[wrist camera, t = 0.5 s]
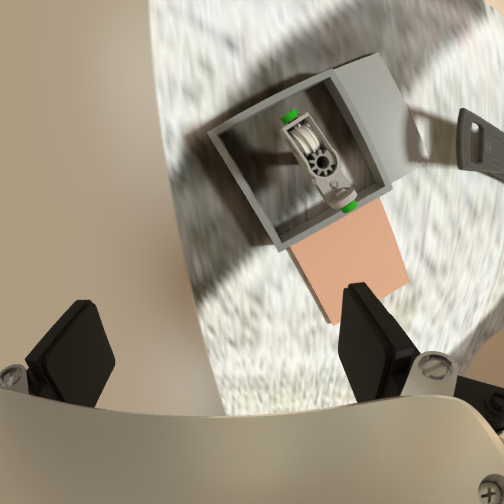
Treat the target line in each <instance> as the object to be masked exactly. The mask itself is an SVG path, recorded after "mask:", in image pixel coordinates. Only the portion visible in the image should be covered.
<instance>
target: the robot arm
mask: <svg viewBox="0 0 504 504" xmlns="http://www.w3.org/2000/svg"><path fill="white" fill-rule="evenodd" d="M338 354H339V358H340V360H341V363H342V365H343V368H344V370H345V373H346V375H347V378H348V380H349V383H350V385H351V388H352V391H353V393H354V396H355V398H356V401H357V403H354V404H347V405H341V406H335V407H329V408H322V409H314V410H306V411H297V412H288V413H277V414H264V415H247V416H172V415H155V414H143V413H132V412H122V411H114V410H107V409H99V408H94V407H95V405H96V403H97V401H98V399H99V397H100V394H101V393H102V391H103V389H104V386H105V384H106V382H107V380H108V378H109V376H110V374H111V372H112V370H113V368H114V366H115V357H114V354H113V352H112V350H111V347H110V344H109V341H108V339H107V336H106V333H105V331H104V328H103V325H102V322H101V319H100V316H99V313H98V310H97V307H96V305H95V304H94V303H92V301H91V300H76V301H75V302H74V303H73V304H72V305H71V307H70V308H69V309H68V310H67V311H66V312H65V313H64V314H63V315H62V317H60V319H59V320H58V321H57V322H56V323H55V324H54V325H53V326H52V328H51V329H50V330H49V331H48V332H47V333H46V334H45V336H44V337H43V338H42V339H41V341H39V343H38V344H37V345H36V346H35V348H34V349H33V350H32V351H31V352H30V354H29V355H28V356H27V357H26V358H25V361H26V363H27V365H28V367H29V368H28V370H26V369H25V367H24V366H23V365H20V364H14V365H10V366H8V367H6V368H5V369H3V370H2V371H1V372H0V504H504V388H501V387H497V386H494V385H490V384H486V383H482V382H479V381H476V380H472V379H469V378H465V377H462V376H459V375H458V366H457V364H456V362H455V361H454V360H453V359H452V358H451V357H450V356H448V355H447V354H444V353H441V352H436V351H429V352H424V353H420V352H419V351H418V349H417V348H416V346H415V345H414V344H413V342H412V341H411V340H410V338H409V337H408V336H407V334H406V333H405V332H404V330H403V329H402V328H401V326H400V325H399V324H398V322H397V321H396V320H395V318H394V317H393V316H392V315H391V314H389V312H388V311H387V310H386V308H385V307H384V306H383V305H382V303H381V302H380V301H379V299H378V298H377V297H376V296H375V294H374V293H373V292H372V291H371V289H370V288H369V287H368V286H367V284H366V283H365V282H359V283H350V284H349V285H348V288H344V290H343V298H342V311H341V323H340V333H339V343H338Z"/></svg>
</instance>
